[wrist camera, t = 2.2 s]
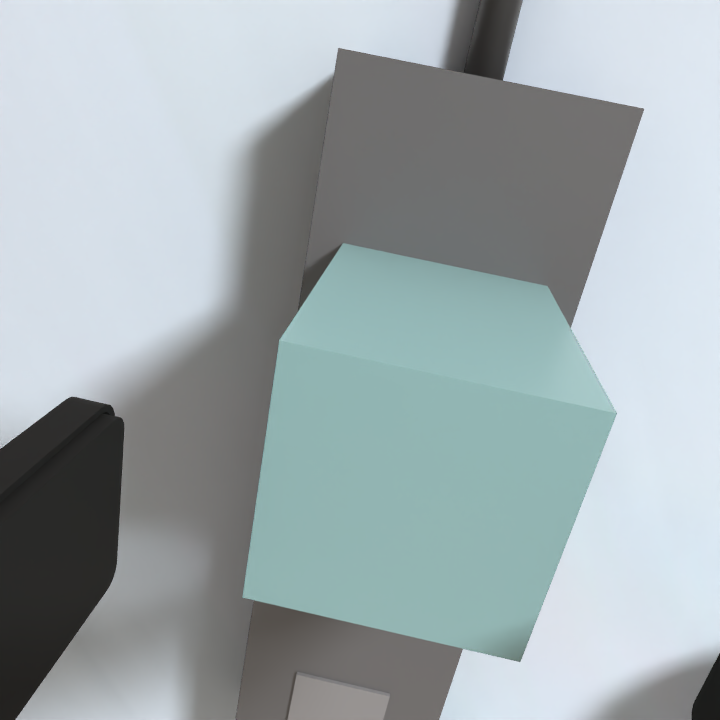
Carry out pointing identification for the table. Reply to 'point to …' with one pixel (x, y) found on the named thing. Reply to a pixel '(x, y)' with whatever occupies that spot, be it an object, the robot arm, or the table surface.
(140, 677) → the table surface
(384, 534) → the block
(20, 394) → the table surface
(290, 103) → the table surface
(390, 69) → the power strip
